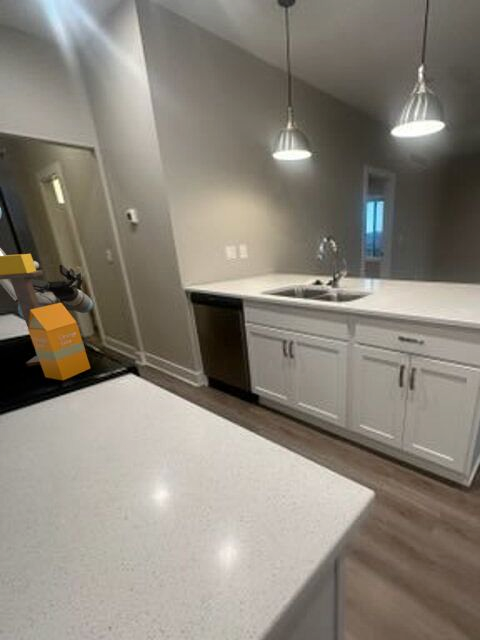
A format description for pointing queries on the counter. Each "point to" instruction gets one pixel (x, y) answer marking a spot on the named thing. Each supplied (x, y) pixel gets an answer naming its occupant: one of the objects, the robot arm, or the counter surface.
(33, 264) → the yellow rectangular block
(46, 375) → the orange juice
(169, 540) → the counter surface
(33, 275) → the tall stand
